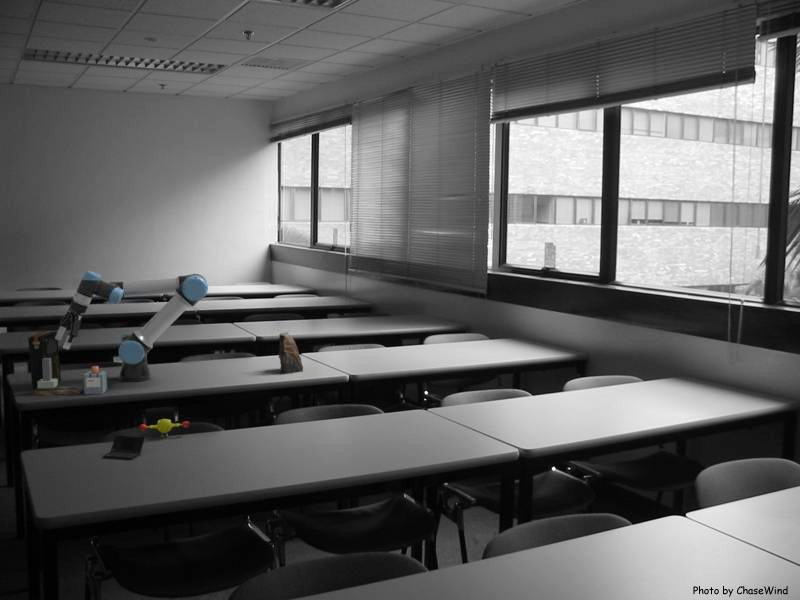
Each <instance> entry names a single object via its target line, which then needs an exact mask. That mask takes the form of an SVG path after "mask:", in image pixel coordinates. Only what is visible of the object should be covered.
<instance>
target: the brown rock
mask: <svg viewBox="0 0 800 600" xmlns="http://www.w3.org/2000/svg"><path fill="white" fill-rule="evenodd" d="M278 336H279V339H278V341H279V346H278V352H279V353H278V358H279V360H280V361H279V362H280V373H281V374H284V375H287V374H294V373H300V372H302V373H303V372H304V366H303V362H302V358H301V355H300V353H299V350H298V346H297V344H296V342H295V340H294V338H293V336H291V335H290V333H288V331H286V332H281V333H280V334H279V335H278Z"/></svg>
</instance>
